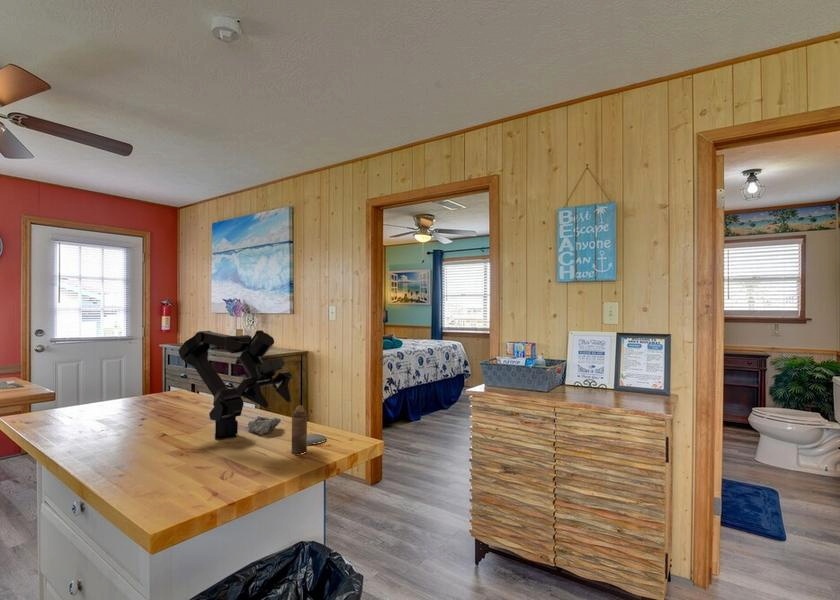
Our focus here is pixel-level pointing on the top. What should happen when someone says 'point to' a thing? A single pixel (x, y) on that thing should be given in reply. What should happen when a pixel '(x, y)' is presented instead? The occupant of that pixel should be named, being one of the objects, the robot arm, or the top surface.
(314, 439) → the slate coaster
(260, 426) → the mineral specimen
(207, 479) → the top surface
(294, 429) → the pepper mill
